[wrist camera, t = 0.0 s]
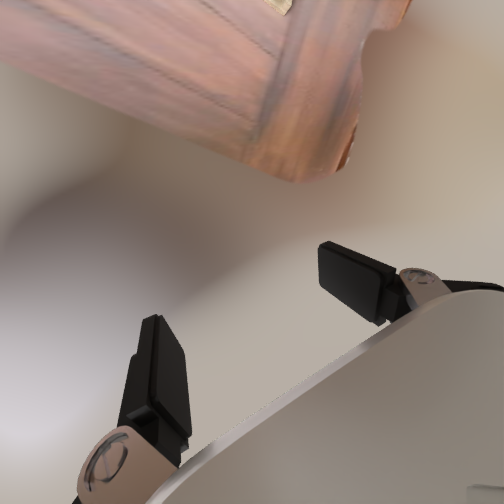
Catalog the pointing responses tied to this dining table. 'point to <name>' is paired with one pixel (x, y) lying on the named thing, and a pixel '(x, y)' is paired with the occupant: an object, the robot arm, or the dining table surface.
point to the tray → (280, 5)
